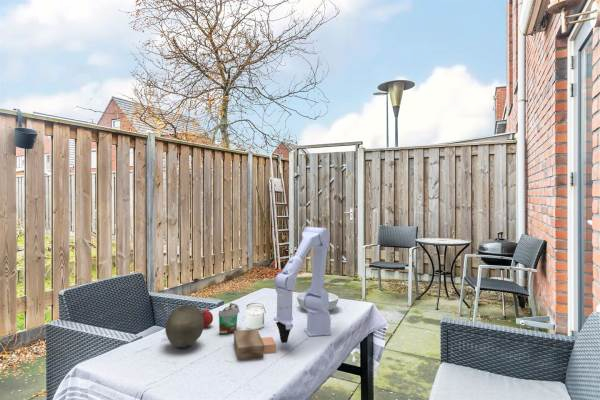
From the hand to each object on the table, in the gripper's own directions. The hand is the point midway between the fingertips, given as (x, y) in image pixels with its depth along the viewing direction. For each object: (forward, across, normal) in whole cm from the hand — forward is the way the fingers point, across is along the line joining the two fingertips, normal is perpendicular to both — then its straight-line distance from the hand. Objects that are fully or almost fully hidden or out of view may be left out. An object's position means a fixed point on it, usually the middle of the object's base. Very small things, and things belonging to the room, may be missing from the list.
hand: (283, 342), depth 135 cm
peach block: (+2, 0, -9) cm, 9 cm away
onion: (+2, -28, -28) cm, 39 cm away
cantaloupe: (+2, -9, -36) cm, 37 cm away
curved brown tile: (+2, 0, -13) cm, 14 cm away
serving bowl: (+3, -42, +27) cm, 50 cm away
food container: (+2, -21, -18) cm, 27 cm away
